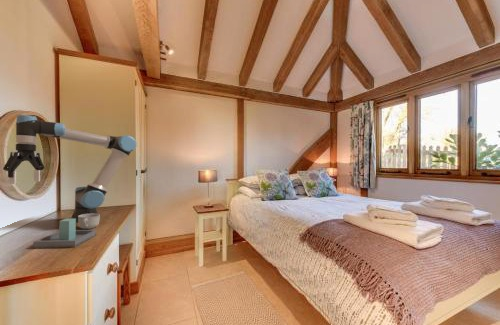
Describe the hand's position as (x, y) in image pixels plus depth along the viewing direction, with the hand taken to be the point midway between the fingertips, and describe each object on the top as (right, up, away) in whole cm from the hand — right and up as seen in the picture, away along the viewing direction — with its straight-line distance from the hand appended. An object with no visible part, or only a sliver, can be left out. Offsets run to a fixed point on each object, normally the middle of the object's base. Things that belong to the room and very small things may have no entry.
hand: (25, 182), depth 112 cm
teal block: (+29, -29, -7) cm, 41 cm away
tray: (+29, -30, -7) cm, 42 cm away
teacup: (+24, -30, +13) cm, 40 cm away
